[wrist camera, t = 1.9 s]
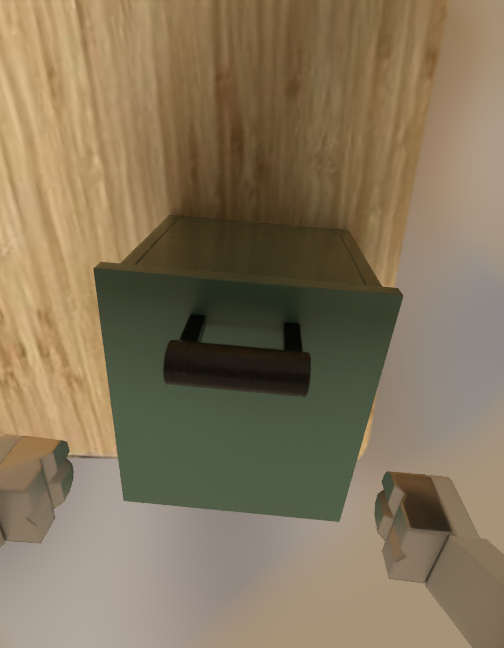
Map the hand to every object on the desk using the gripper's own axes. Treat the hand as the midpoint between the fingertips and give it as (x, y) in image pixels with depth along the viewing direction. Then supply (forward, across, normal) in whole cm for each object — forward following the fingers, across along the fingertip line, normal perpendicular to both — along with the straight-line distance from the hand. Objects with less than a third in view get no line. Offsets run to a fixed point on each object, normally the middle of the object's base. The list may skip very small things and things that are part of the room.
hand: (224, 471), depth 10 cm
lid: (+9, 0, +5) cm, 10 cm away
